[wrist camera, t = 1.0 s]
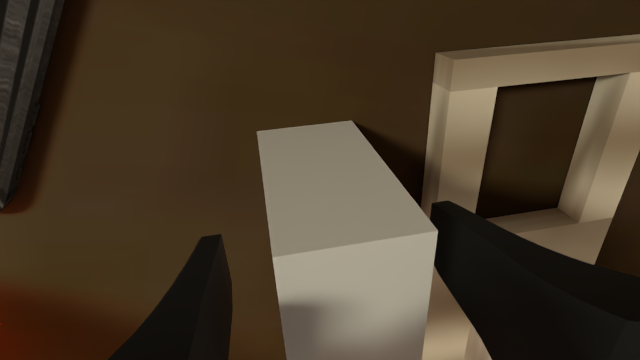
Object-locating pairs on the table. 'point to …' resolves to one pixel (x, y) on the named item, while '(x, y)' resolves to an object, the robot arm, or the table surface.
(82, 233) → the table surface
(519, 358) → the robot arm
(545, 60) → the beige piece
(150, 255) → the table surface
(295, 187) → the off-white rectangular block
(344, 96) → the table surface
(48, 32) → the phone
